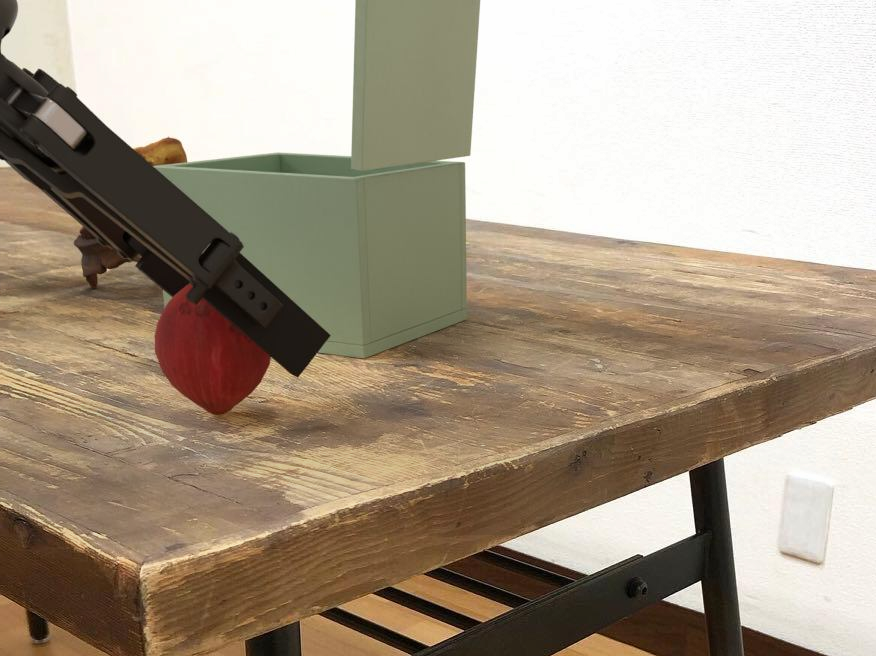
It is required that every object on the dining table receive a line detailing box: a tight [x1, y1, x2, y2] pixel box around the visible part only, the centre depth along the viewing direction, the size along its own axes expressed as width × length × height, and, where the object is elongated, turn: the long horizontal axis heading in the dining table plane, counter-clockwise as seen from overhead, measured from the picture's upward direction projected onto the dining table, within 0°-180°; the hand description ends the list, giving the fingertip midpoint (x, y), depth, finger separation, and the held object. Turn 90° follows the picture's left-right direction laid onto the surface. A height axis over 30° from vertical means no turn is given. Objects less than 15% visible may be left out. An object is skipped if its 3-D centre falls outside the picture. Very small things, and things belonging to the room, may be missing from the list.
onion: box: [154, 283, 272, 417], centre depth 63 cm, size 6×6×8 cm
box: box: [153, 152, 468, 359], centre depth 84 cm, size 16×14×11 cm
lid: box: [350, 0, 481, 171], centre depth 75 cm, size 16×14×1 cm
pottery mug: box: [73, 226, 141, 289], centre depth 99 cm, size 12×10×8 cm
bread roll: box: [133, 136, 188, 166], centre depth 148 cm, size 13×10×8 cm
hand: (275, 338), depth 65 cm, fingers open, 8 cm apart
